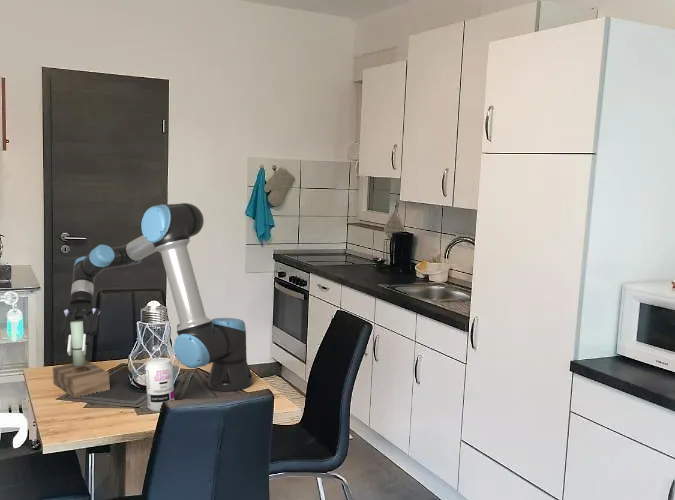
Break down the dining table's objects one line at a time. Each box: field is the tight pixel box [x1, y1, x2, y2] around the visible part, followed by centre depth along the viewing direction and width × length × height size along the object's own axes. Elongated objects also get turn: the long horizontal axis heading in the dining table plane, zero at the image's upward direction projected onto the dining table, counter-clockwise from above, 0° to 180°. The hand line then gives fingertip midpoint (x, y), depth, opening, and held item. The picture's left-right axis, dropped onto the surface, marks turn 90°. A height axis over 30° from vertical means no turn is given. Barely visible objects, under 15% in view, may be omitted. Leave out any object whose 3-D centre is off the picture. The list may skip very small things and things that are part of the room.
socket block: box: [52, 360, 111, 399], centre depth 235 cm, size 20×12×6 cm, turn 41°
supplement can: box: [145, 357, 175, 412], centre depth 213 cm, size 8×8×15 cm
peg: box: [69, 320, 86, 366], centre depth 233 cm, size 4×4×15 cm
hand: (76, 352), depth 230 cm, fingers closed on peg, 4 cm apart
